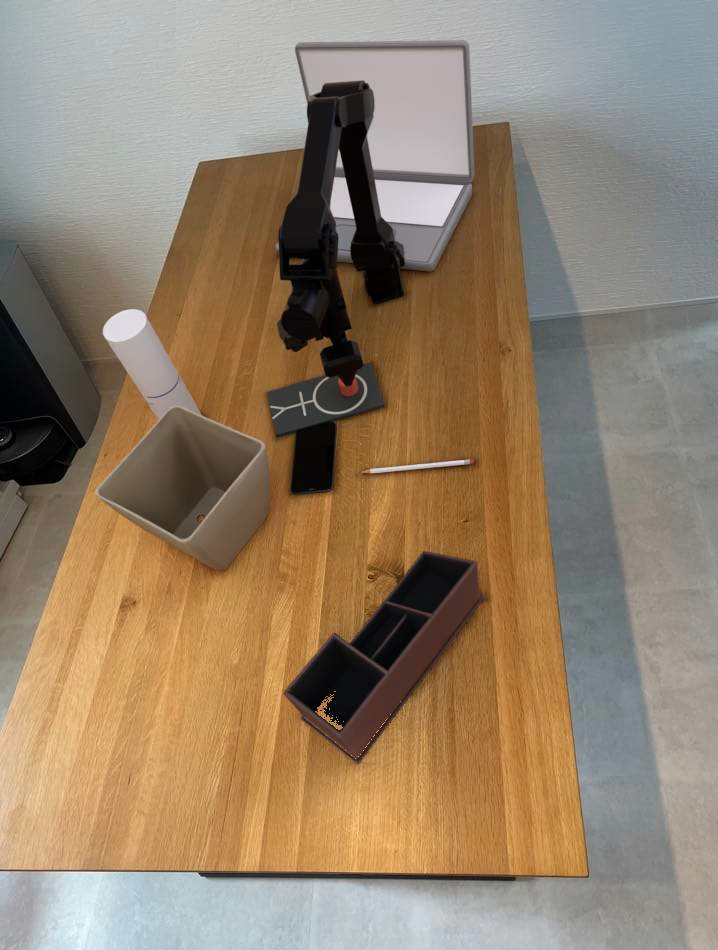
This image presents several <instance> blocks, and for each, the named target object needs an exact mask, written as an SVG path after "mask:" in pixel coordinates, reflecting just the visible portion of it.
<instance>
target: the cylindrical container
mask: <svg viewBox="0 0 718 950" xmlns="http://www.w3.org/2000/svg"><path fill="white" fill-rule="evenodd" d="M102 335H103V337H104V339H105V340H106V342H107V343H108V345H109V346H110V348H111V350H112V351H113V352H114V354H115V356H116V357H117V359H118V360H119V362H120V363H121V365H122V366H123V368H124V369H125V371H126V372H127V374H128V376H129V377H130V379H131V380H132V382H133V384H134V385H135V386H136V388H137V389H138V391H139V393H140V395H142V397H143V399H144V400H145V402H146V404H147V405H148V406H149V408H150V409H151V411H152V413H153V414H154V415H155V417H156V419H157V421H158V420H159V419H160V418H161V417H162V416H163V415H164V414H165V413H166V411H167V410H168V409H169V408H170V407H171V406H174V405H180V406H182V407H184V408H187V409H189V410H191V411H193V412H195V413H198V414H200V415H202V413H201V411H200V409H199V407H198V405H197V404H196V402H195V400H194V399H193V398H194V397H192V395H191V393H190V391H189V390H188V388H187V386H186V385H185V382H184V381H183V379H182V377H181V376H180V374H179V372H178V370H177V368H176V367H175V365H174V363H173V361H172V359H171V358H170V356H169V354H168V352H167V351H166V349H165V347H164V345H163V343H162V342H161V340H160V338H159V337H158V335H157V333H156V331H155V329H154V327H153V326H152V324H151V322H150V320H149V318H148V317H147V315H146V313H145V312H144V311H142V310H140V309H135V308H129V309H125V310H122V311H120V312H117V313H116V314H113V316H111V317H110V318H109V319H108V320H107V321H106V322H105V323H104V326H103V328H102Z"/></svg>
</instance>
